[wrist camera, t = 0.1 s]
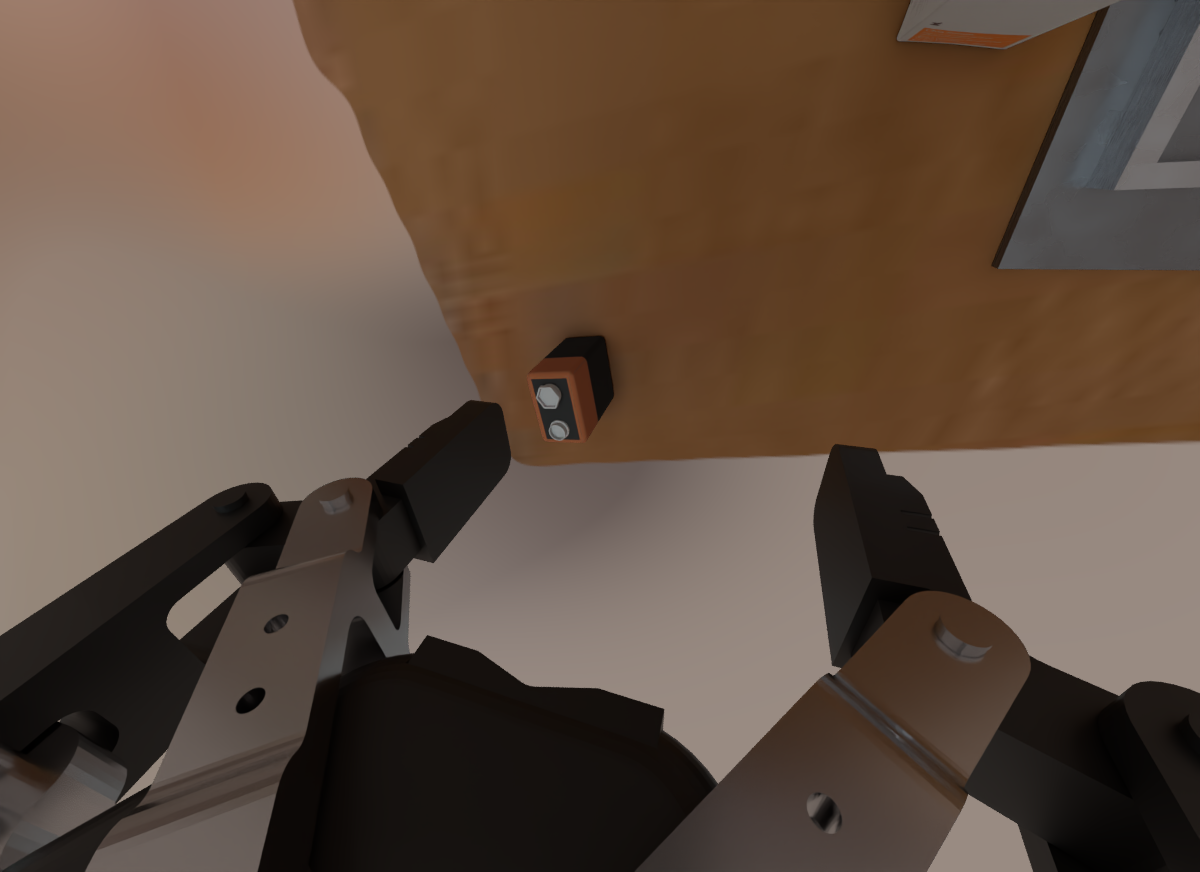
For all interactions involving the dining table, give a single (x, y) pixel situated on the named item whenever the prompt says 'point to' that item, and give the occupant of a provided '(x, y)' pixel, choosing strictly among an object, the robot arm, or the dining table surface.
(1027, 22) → the skincare box
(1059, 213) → the grey box holder
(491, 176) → the dining table surface
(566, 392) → the battery
